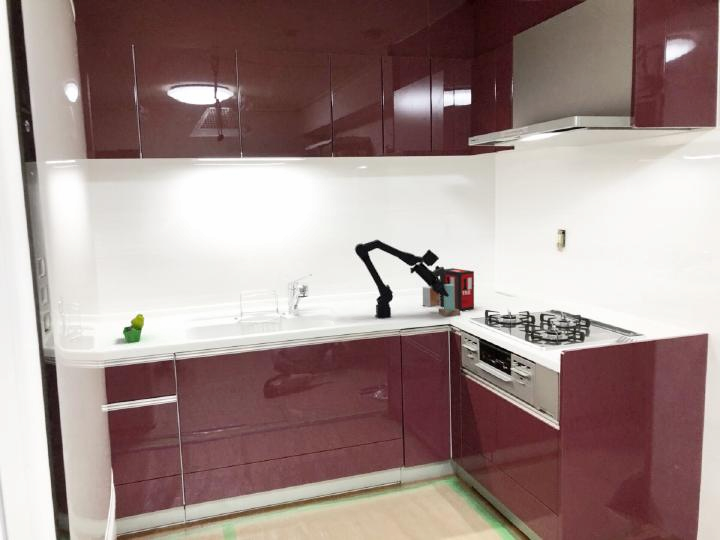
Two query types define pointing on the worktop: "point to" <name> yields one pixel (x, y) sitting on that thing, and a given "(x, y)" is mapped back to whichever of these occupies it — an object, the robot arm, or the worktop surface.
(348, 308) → the worktop surface
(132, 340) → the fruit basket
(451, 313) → the walnut slab
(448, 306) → the teal block
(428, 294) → the small box
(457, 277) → the cleaning product box
